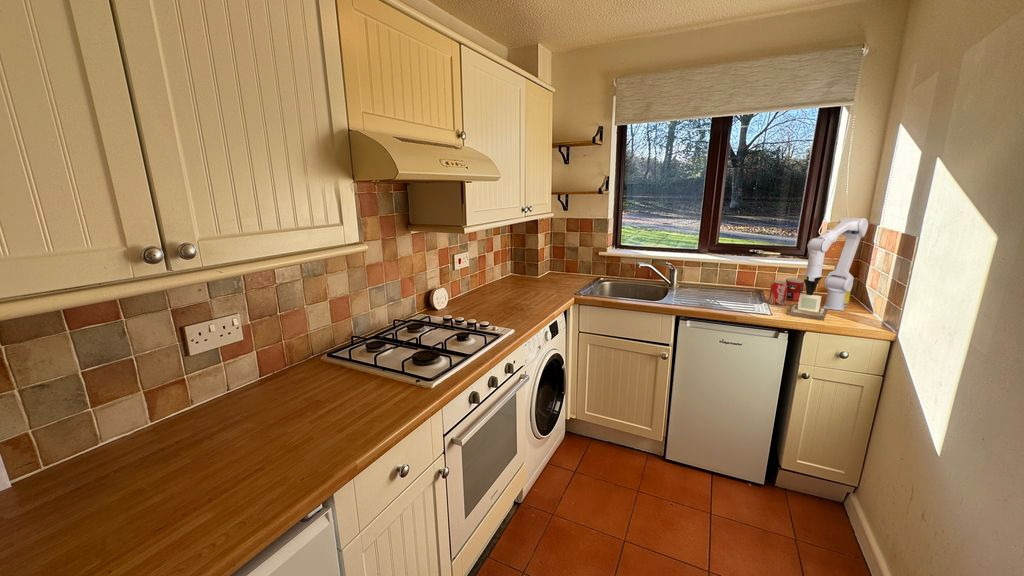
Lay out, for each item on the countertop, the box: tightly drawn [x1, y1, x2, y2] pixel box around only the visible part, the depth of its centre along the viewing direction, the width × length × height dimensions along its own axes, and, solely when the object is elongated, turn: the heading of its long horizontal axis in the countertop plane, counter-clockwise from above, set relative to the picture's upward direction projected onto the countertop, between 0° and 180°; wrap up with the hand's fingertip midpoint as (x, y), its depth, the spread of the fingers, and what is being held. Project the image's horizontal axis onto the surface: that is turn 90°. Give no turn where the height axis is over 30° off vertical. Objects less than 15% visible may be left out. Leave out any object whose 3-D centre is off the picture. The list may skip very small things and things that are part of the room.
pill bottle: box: [844, 289, 852, 307], centre depth 209 cm, size 6×6×12 cm
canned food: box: [785, 277, 805, 303], centre depth 218 cm, size 8×8×11 cm
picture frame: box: [797, 292, 822, 312], centre depth 195 cm, size 5×8×8 cm, turn 49°
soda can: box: [768, 280, 788, 307], centre depth 210 cm, size 7×7×12 cm
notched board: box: [786, 303, 829, 322], centre depth 197 cm, size 20×14×2 cm
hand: (810, 293), depth 194 cm, fingers open, 7 cm apart
